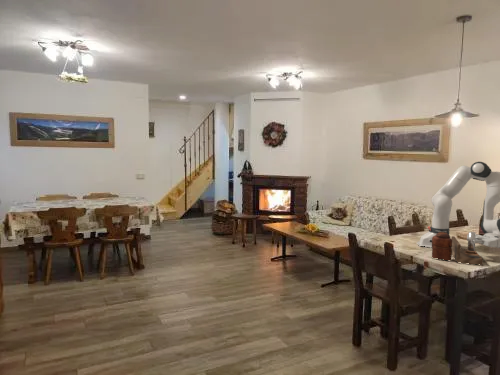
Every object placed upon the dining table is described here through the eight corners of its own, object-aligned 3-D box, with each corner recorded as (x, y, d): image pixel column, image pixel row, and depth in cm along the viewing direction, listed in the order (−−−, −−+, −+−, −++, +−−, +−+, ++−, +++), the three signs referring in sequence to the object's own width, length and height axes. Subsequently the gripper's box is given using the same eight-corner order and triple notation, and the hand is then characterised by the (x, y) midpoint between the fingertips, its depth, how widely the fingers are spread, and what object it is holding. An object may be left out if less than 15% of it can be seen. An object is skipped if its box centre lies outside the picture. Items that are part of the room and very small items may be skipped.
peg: (468, 250, 232) (469, 232, 231) (467, 249, 236) (467, 231, 235) (475, 251, 231) (476, 233, 229) (474, 249, 234) (475, 231, 233)
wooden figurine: (451, 259, 233) (453, 232, 231) (451, 262, 227) (452, 234, 226) (431, 256, 239) (432, 230, 237) (430, 259, 234) (431, 232, 232)
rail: (456, 263, 225) (457, 244, 224) (450, 253, 247) (451, 236, 246) (482, 265, 220) (483, 246, 219) (473, 255, 242) (474, 237, 241)
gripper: (478, 231, 244) (459, 232, 242) (502, 238, 223) (482, 239, 222) (478, 240, 244) (459, 241, 243) (502, 248, 224) (481, 249, 223)
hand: (470, 240), depth 232 cm, fingers closed on peg, 4 cm apart
